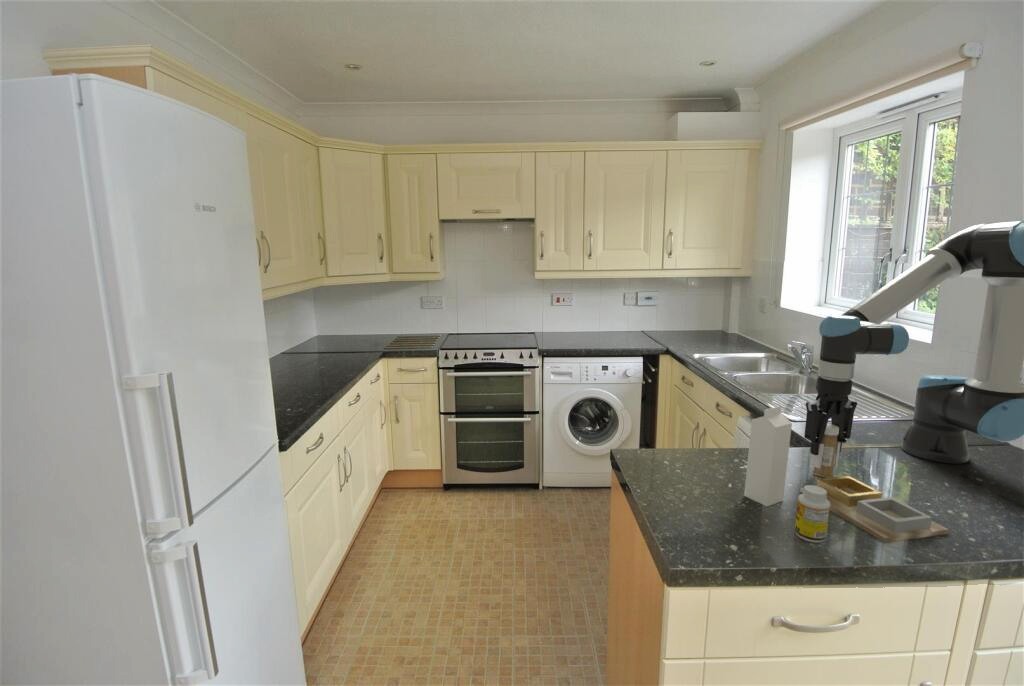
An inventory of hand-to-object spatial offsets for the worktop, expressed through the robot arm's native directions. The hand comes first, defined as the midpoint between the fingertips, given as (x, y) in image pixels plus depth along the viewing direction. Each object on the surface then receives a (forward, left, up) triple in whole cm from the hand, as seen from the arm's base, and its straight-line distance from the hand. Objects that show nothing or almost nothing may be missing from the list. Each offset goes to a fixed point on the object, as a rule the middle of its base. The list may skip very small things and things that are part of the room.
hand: (823, 465), depth 131 cm
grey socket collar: (+5, +23, -3) cm, 24 cm away
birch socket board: (+5, +18, -3) cm, 19 cm away
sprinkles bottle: (0, 0, -3) cm, 3 cm away
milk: (+24, +8, -3) cm, 26 cm away
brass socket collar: (+5, +12, -3) cm, 14 cm away
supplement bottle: (+26, +24, -3) cm, 36 cm away
